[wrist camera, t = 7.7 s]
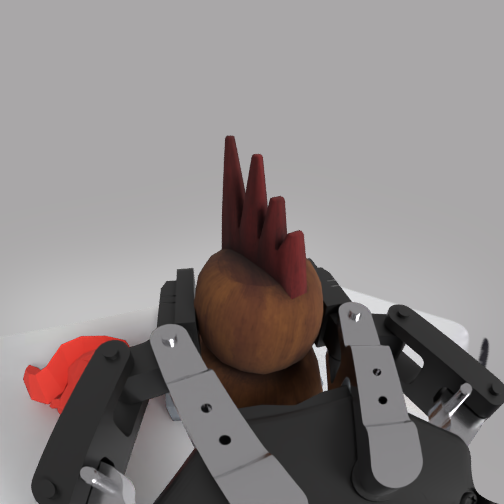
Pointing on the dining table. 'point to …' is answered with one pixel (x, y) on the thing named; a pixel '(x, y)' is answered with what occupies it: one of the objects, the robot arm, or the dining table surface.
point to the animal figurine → (62, 371)
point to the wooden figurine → (259, 297)
